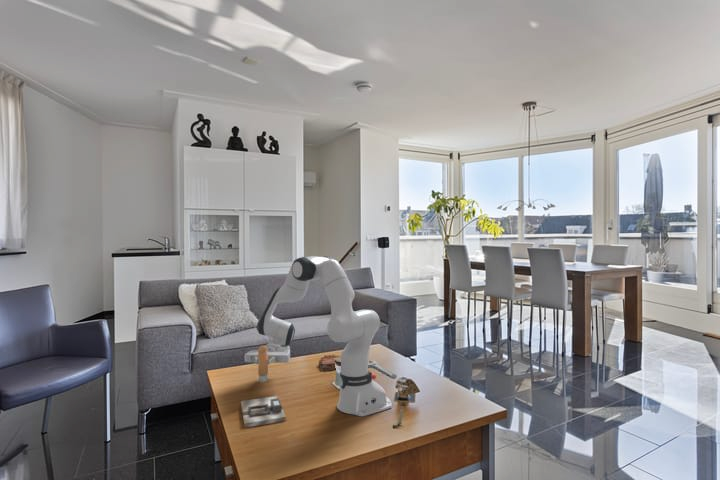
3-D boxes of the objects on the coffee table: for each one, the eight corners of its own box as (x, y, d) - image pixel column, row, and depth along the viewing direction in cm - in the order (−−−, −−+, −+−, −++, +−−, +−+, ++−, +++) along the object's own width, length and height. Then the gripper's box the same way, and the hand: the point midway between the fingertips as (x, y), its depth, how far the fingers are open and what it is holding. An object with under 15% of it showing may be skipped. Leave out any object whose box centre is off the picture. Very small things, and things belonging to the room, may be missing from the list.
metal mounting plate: (277, 399, 165) (277, 393, 165) (285, 420, 146) (285, 414, 146) (241, 404, 159) (241, 399, 159) (244, 427, 141) (244, 421, 141)
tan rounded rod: (267, 378, 171) (266, 343, 170) (268, 381, 167) (268, 346, 167) (258, 379, 169) (257, 344, 169) (259, 382, 165) (258, 347, 165)
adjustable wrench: (398, 378, 190) (398, 374, 190) (386, 380, 187) (386, 377, 187) (373, 362, 212) (373, 359, 212) (363, 364, 209) (363, 361, 209)
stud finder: (278, 404, 156) (278, 398, 156) (281, 411, 150) (281, 405, 150) (270, 405, 155) (270, 399, 155) (273, 413, 149) (273, 406, 149)
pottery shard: (317, 362, 213) (317, 355, 213) (344, 359, 217) (344, 352, 217) (320, 372, 198) (320, 365, 198) (350, 369, 201) (350, 362, 201)
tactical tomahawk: (410, 433, 139) (410, 430, 139) (392, 429, 141) (392, 426, 141) (416, 406, 160) (416, 403, 160) (400, 403, 161) (400, 400, 161)
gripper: (250, 345, 182) (238, 354, 168) (292, 346, 180) (285, 355, 166) (250, 358, 182) (239, 369, 168) (293, 359, 180) (285, 369, 166)
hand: (262, 362), depth 167 cm, fingers closed on tan rounded rod, 4 cm apart
